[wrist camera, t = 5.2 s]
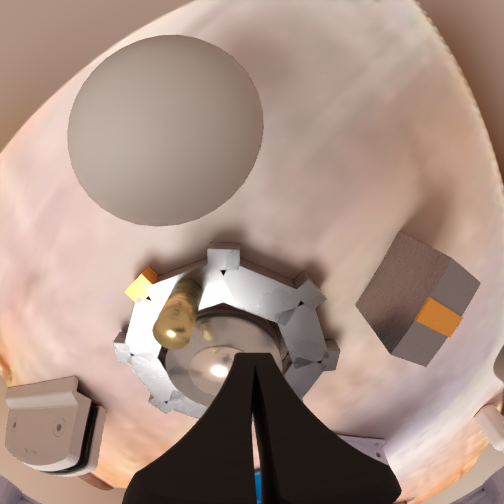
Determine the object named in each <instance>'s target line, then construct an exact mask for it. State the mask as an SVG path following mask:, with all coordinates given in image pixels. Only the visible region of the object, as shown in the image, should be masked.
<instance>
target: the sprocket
mask: <svg viewBox="0 0 504 504" xmlns="http://www.w3.org/2000/svg"><path fill="white" fill-rule="evenodd" d="M125 293H126V294H127V295H128V296H129V297H130V298H132V299H133V300H134V301H135V306H134V309H133V313H132V316H131V320H130V324H129V328H128V332H127V333H124V332H120V333H119V334H118V336H117V337H116V339H115V340H114V342H113V344H114V348H115V352H116V356H117V359H118V362H122V363H128V364H130V366H131V367H132V368H133V370H134V371H135V373H136V374H137V375H138V377H139V378H140V380H141V381H142V382H143V384H144V385H145V386H146V388H147V389H148V390H149V392H150V393H151V395H150V398H149V401H148V402H149V403H151V404H152V405H153V406H155V407H156V408H158V409H159V410H161V411H162V412H164V413H165V414H166V413H168V412H169V411H171V410H174V411H177V412H180V413H182V414H185V415H188V416H191V417H195V418H198V419H200V418H201V417H202V415H203V414H204V413H205V411H206V410H207V409H208V407H207V406H204V405H201V404H198V403H196V402H194V401H192V400H190V399H189V398H187V397H186V396H184V395H183V394H182V393H180V392H179V391H178V390H177V389H176V388H175V386H174V385H173V384H172V382H171V380H170V379H169V377H168V374H167V371H166V365H165V360H166V352H165V351H164V349H163V348H162V346H163V347H165V348H167V349H172V350H178V349H182V348H184V347H185V346H186V345H187V344H188V343H189V341H190V338H191V334H192V331H193V327H194V324H195V320H196V317H197V313H198V310H201V309H204V308H207V307H210V306H213V305H216V304H219V303H222V302H224V303H226V304H229V305H231V306H234V307H237V308H239V309H242V310H244V311H247V312H249V313H252V314H255V315H257V316H260V317H262V318H265V319H268V320H271V321H273V322H276V323H277V324H278V326H279V329H280V331H281V334H282V337H283V339H284V342H285V344H286V347H287V349H288V352H289V354H288V355H287V357H286V358H285V360H284V361H283V363H282V374H283V376H284V377H285V379H286V380H287V382H288V383H289V385H290V386H291V388H292V389H293V391H294V392H295V393H296V394H297V396H298V397H299V398H300V400H301V401H302V402H303V399H302V398H303V397H304V395H305V394H306V393H307V392H308V390H309V389H310V388H311V387H312V385H313V384H314V383H315V381H316V380H317V379H318V378H319V376H320V375H321V374H322V372H323V371H332V370H335V369H336V366H337V362H338V358H339V354H340V349H339V347H338V345H337V343H336V341H335V340H324V336H323V333H322V329H321V326H320V323H319V319H318V316H317V313H316V309H315V308H316V307H318V306H319V305H320V304H321V303H322V302H324V301H325V300H326V297H325V295H324V294H323V292H322V290H321V289H320V288H319V287H318V286H317V285H316V283H315V282H314V281H313V280H312V279H311V278H310V277H309V276H308V275H307V274H306V272H305V271H304V272H303V273H301V274H300V275H299V276H298V277H297V278H296V279H294V280H291V279H289V278H286V277H284V276H282V275H279V274H277V273H274V272H272V271H270V270H267V269H265V268H263V267H260V266H258V265H256V264H253V263H251V262H248V261H246V260H244V259H241V258H240V243H215V242H210V244H209V246H208V248H207V258H206V259H203V260H200V261H197V262H195V263H192V264H189V265H187V266H184V267H181V268H179V269H176V270H173V271H171V272H168V273H165V274H163V275H160V276H158V275H157V274H156V273H155V272H154V271H153V270H152V269H151V268H150V267H149V266H148V267H147V268H146V269H145V270H144V271H143V273H142V274H141V275H140V276H139V277H138V278H137V279H136V280H135V281H134V282H133V284H132V285H131V286H130V287H129V288H128V289H127V290H126V292H125ZM252 421H254V418H253V414H252Z"/></svg>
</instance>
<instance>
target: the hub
mask: <svg viewBox="0 0 504 504" xmlns="http://www.w3.org/2000/svg"><path fill="white" fill-rule="evenodd" d="M237 352H244V353H271V354H272V355H273V357H274V360H275V362H276V364H277V366H278V367H279V369H280V371H281V373H282V360H281V355H280V350H279V344H278V339H277V336H276V333H275V331H274V329H273V327H272V326H271V324H270V323H269V322H268V321H267V320H266V319H265V318H262V317H260V316H257V315H255V314H252V313H249V312H247V311H244V310H242V309H239V308H237V307H234V306H231V305H229V304H226V303H219V304H216V305H213V306H210V307H207V308H204V309H201V310H198V313H197V317H196V320H195V324H194V327H193V331H192V334H191V338H190V341H189V343H188V344H187V345H186V346H185V347H184V348H182V349H178V350H172V349H168V351H167V354H166V360H165V365H166V371H167V374H168V377H169V379H170V380H171V382H172V384H173V385H174V386H175V388H176V389H177V390H178V391H179V392H180V393H182V394H183V395H184V396H186V397H187V398H189V399H190V400H192V401H194V402H196V403H198V404H201V405H204V406H207V407H209V406H210V405H211V403H212V401H213V400H214V398H215V397H216V395H217V394H218V392H219V390H220V389H221V387H222V385H223V383H224V381H225V379H226V377H227V375H228V373H229V371H230V368H231V366H232V363H233V360H234V355H235V354H236V353H237Z"/></svg>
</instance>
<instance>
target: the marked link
mask: <svg viewBox="0 0 504 504" xmlns="http://www.w3.org/2000/svg"><path fill="white" fill-rule="evenodd" d="M479 285H480V282H479V281H478V280H477V279H476V278H475V277H474V276H472V275H471V274H470V273H469V272H468V271H467V270H465V269H464V268H463V267H462V266H461V265H459V264H458V263H457V262H456V261H455V260H453V259H452V258H451V257H449V256H447V255H445V254H443V253H441V252H439V251H437V250H435V249H434V248H432V247H430V246H428V245H426V244H424V243H422V242H420V241H418V240H416V239H414V238H412V237H410V236H408V235H406V234H404V233H402V232H400V231H399V232H398V233H397V235H396V237H395V239H394V241H393V243H392V245H391V246H390V248H389V250H388V252H387V254H386V255H385V257H384V259H383V261H382V262H381V264H380V266H379V267H378V269H377V271H376V273H375V274H374V276H373V278H372V279H371V281H370V283H369V284H368V286H367V287H366V289H365V291H364V292H363V294H362V295H361V297H360V299H359V300H358V302H357V303H356V305H355V306H356V307H357V308H358V310H359V311H360V313H361V314H362V315H363V317H364V318H365V319H366V321H367V322H368V323H369V325H370V326H371V328H372V329H373V330H374V332H375V333H376V335H377V336H378V337H379V339H380V340H381V342H382V343H383V344H384V346H385V347H386V349H387V350H388V352H389V353H390V354H391V355H394V356H396V357H399V358H402V359H405V360H408V361H411V362H414V363H416V364H419V365H422V366H425V367H426V366H427V365H428V363H429V362H430V361H431V360H432V358H433V357H434V356H435V354H436V353H437V352H438V350H439V349H440V347H441V346H442V345H443V343H444V342H445V340H446V339H447V338H448V337H449V338H450V337H451V335H452V334H453V332H454V331H455V329H456V328H457V326H458V325H459V323H460V322H461V320H462V319H463V318H462V317H461V316H462V315H463V313H464V311H465V310H466V308H467V306H468V305H469V303H470V301H471V300H472V298H473V296H474V294H475V293H476V291H477V289H478V287H479Z"/></svg>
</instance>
